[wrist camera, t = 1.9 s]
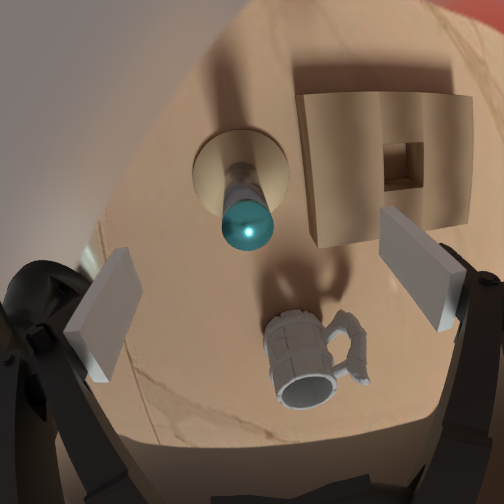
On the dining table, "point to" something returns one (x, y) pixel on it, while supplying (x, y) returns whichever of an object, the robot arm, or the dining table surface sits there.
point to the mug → (311, 357)
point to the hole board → (372, 165)
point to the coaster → (239, 150)
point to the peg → (245, 209)
